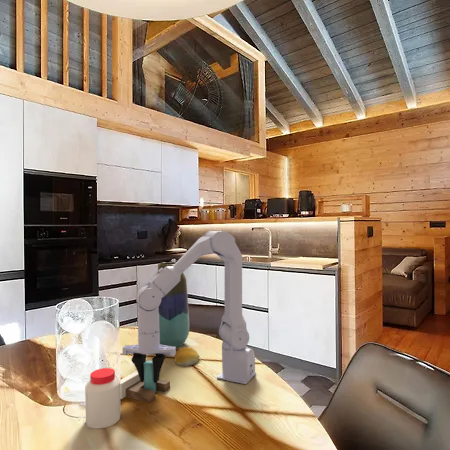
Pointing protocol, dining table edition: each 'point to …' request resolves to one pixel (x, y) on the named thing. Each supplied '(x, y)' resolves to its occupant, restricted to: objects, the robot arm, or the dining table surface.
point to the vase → (174, 313)
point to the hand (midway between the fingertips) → (149, 380)
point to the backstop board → (128, 383)
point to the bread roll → (186, 356)
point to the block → (143, 394)
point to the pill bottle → (102, 399)
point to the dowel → (149, 376)
